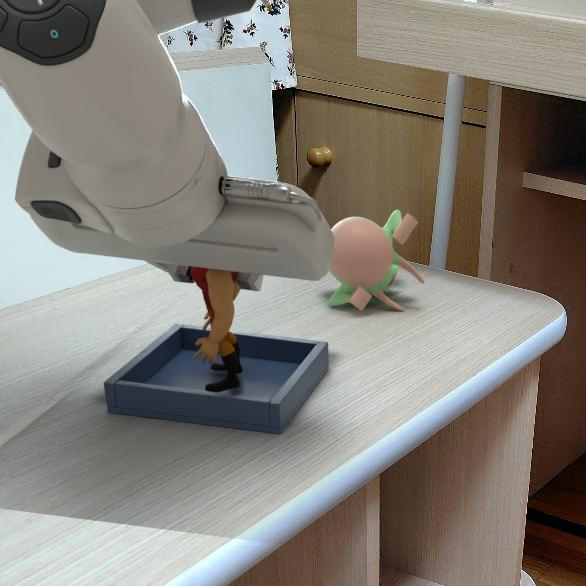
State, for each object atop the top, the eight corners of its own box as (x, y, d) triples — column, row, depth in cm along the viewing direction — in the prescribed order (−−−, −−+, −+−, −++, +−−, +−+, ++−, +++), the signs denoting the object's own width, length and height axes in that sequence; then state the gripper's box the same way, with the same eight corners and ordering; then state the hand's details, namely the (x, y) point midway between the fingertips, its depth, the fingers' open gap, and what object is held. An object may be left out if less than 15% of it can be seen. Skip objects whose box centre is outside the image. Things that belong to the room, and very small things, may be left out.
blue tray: (107, 412, 76) (102, 382, 75) (178, 350, 88) (175, 323, 86) (280, 434, 76) (279, 404, 74) (328, 368, 87) (328, 341, 86)
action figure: (208, 358, 85) (189, 177, 77) (251, 358, 86) (236, 179, 78) (195, 404, 77) (172, 207, 69) (243, 404, 78) (225, 209, 70)
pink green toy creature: (453, 251, 101) (422, 237, 108) (379, 186, 95) (351, 176, 102) (383, 346, 101) (357, 326, 109) (305, 287, 95) (283, 270, 103)
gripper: (319, 149, 64) (357, 257, 78) (13, 114, 65) (103, 227, 78) (302, 235, 63) (343, 330, 76) (-11, 198, 64) (84, 299, 77)
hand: (219, 278), depth 77 cm, fingers closed on action figure, 4 cm apart
